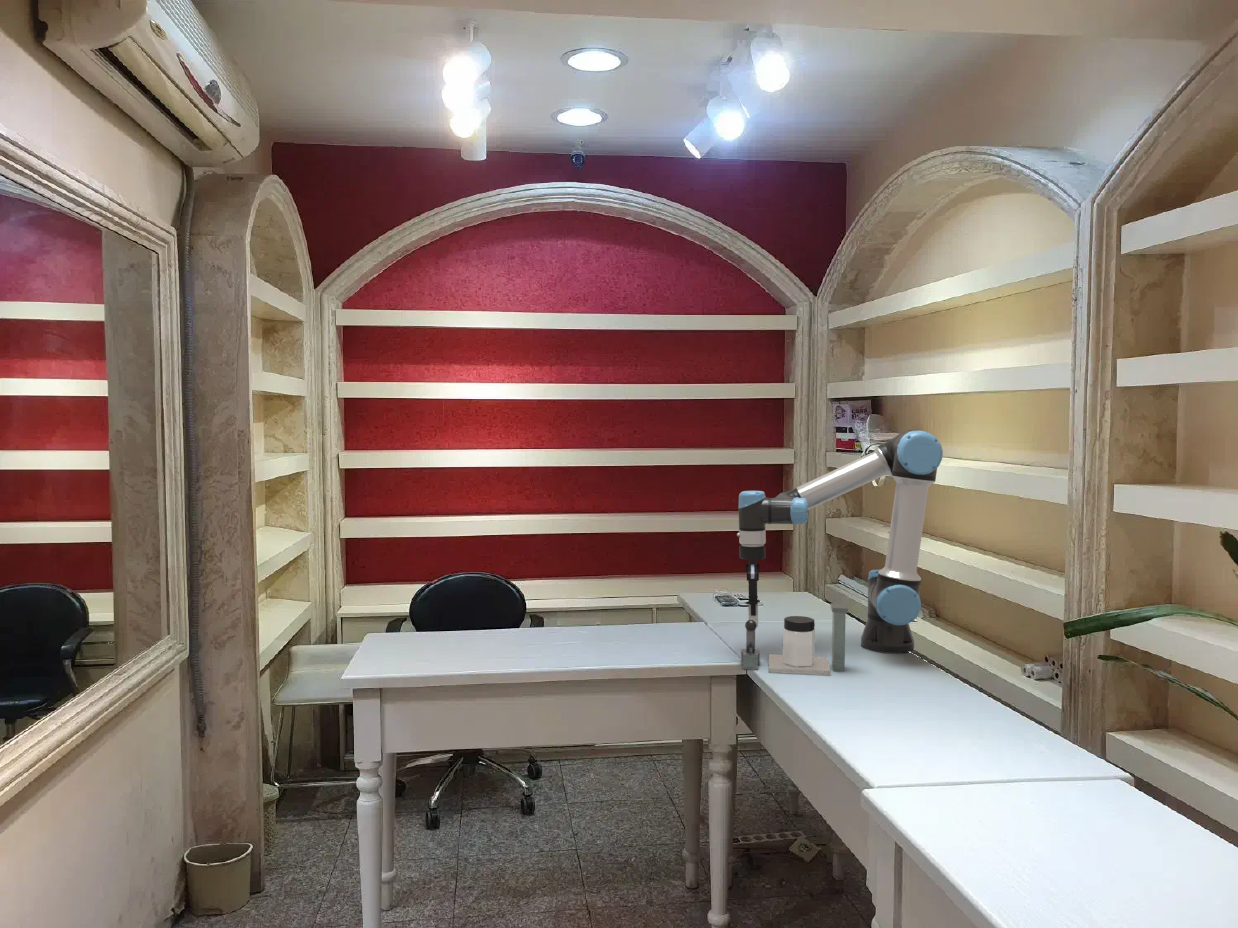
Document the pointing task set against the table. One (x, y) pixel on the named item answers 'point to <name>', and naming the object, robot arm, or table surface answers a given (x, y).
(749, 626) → the lever
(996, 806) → the table surface
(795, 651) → the jar
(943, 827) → the table surface
